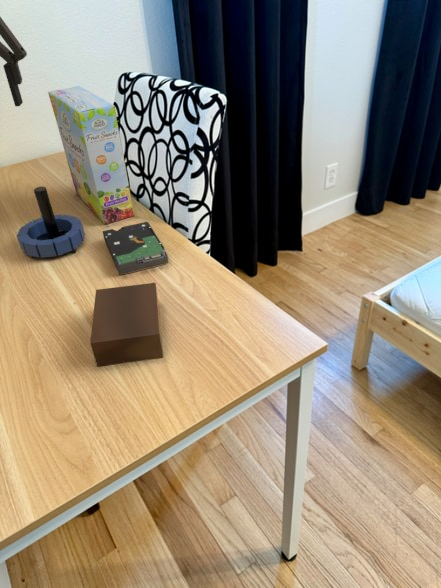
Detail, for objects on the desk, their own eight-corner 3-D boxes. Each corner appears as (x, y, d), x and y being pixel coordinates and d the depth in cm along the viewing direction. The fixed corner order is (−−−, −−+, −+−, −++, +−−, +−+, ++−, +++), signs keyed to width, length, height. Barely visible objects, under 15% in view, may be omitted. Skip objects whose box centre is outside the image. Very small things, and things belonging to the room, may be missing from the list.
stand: (97, 366, 65) (90, 342, 62) (101, 312, 75) (95, 289, 72) (163, 357, 66) (159, 333, 63) (159, 305, 76) (155, 282, 73)
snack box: (72, 194, 114) (45, 90, 98) (103, 186, 118) (82, 84, 102) (102, 227, 100) (76, 110, 84) (136, 216, 103) (118, 102, 87)
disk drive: (103, 242, 94) (119, 276, 83) (101, 231, 93) (116, 264, 82) (149, 231, 97) (170, 263, 86) (147, 220, 96) (168, 251, 85)
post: (31, 258, 90) (11, 200, 82) (39, 236, 97) (21, 182, 89) (75, 253, 91) (60, 196, 83) (79, 232, 98) (65, 178, 90)
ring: (15, 260, 87) (11, 247, 85) (28, 229, 97) (24, 217, 96) (81, 253, 89) (77, 241, 87) (87, 224, 99) (84, 212, 97)
